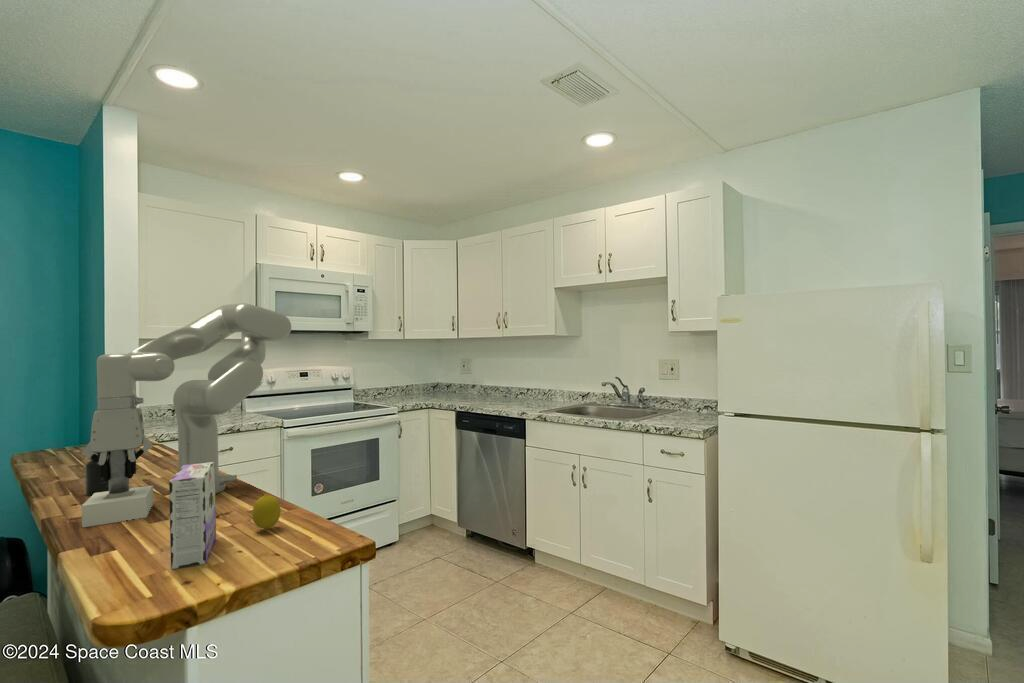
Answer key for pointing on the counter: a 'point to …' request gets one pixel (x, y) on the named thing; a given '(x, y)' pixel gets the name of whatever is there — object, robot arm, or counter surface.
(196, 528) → the candy box
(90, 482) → the supplement bottle
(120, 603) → the counter surface
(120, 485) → the peg
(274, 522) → the lemon
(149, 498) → the socket block
